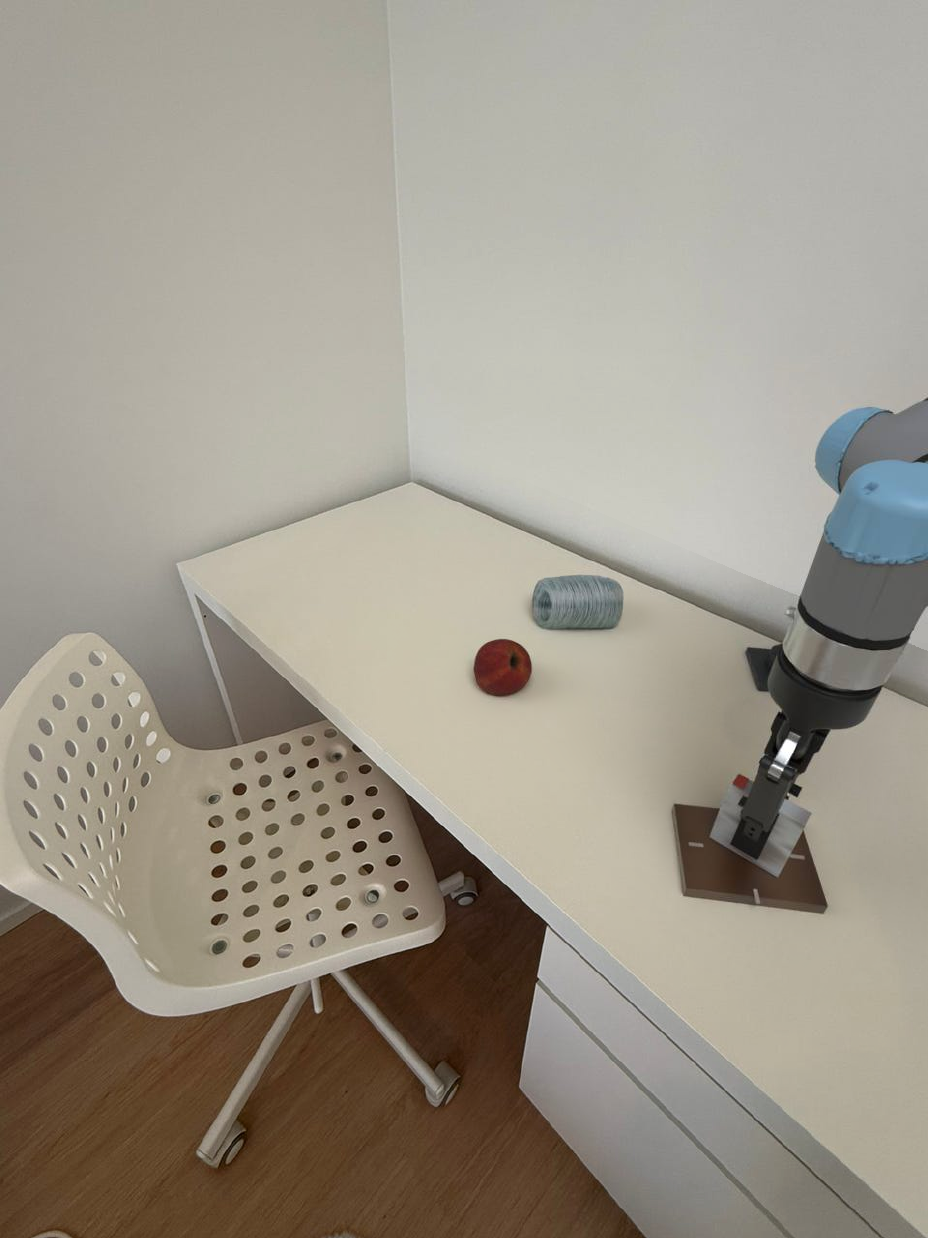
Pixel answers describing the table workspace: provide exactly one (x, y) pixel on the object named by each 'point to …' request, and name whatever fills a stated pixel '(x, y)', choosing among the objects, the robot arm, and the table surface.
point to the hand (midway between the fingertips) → (750, 840)
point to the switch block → (761, 664)
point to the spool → (577, 602)
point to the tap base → (741, 868)
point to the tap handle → (779, 838)
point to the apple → (502, 667)
